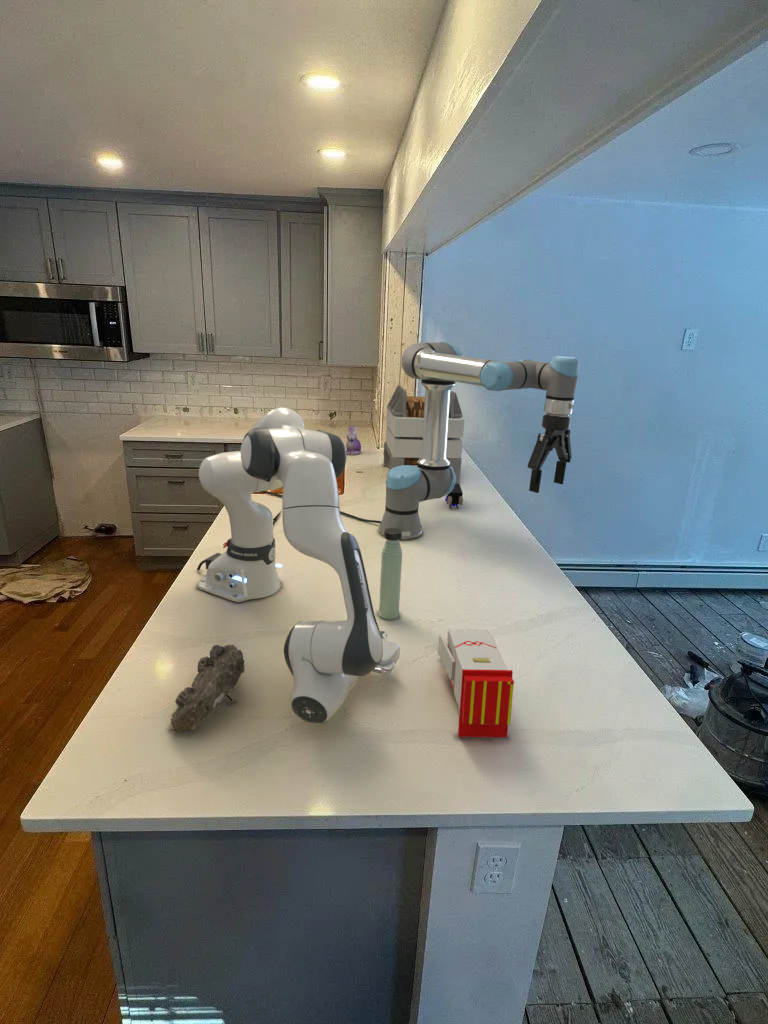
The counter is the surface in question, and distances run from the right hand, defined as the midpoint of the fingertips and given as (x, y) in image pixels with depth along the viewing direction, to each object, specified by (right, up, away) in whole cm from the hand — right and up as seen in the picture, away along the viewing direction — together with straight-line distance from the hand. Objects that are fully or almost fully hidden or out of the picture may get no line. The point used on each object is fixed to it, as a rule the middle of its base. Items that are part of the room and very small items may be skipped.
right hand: (546, 487), depth 165 cm
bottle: (-46, -34, -17) cm, 60 cm away
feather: (-86, -8, +48) cm, 99 cm away
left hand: (-52, -34, -36) cm, 71 cm away
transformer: (-30, +12, +110) cm, 115 cm away
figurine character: (-19, -4, +68) cm, 70 cm away
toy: (-29, -45, -46) cm, 71 cm away
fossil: (-81, -45, -52) cm, 106 cm away
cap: (-45, -12, -25) cm, 53 cm away
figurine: (-64, +25, +142) cm, 158 cm away
